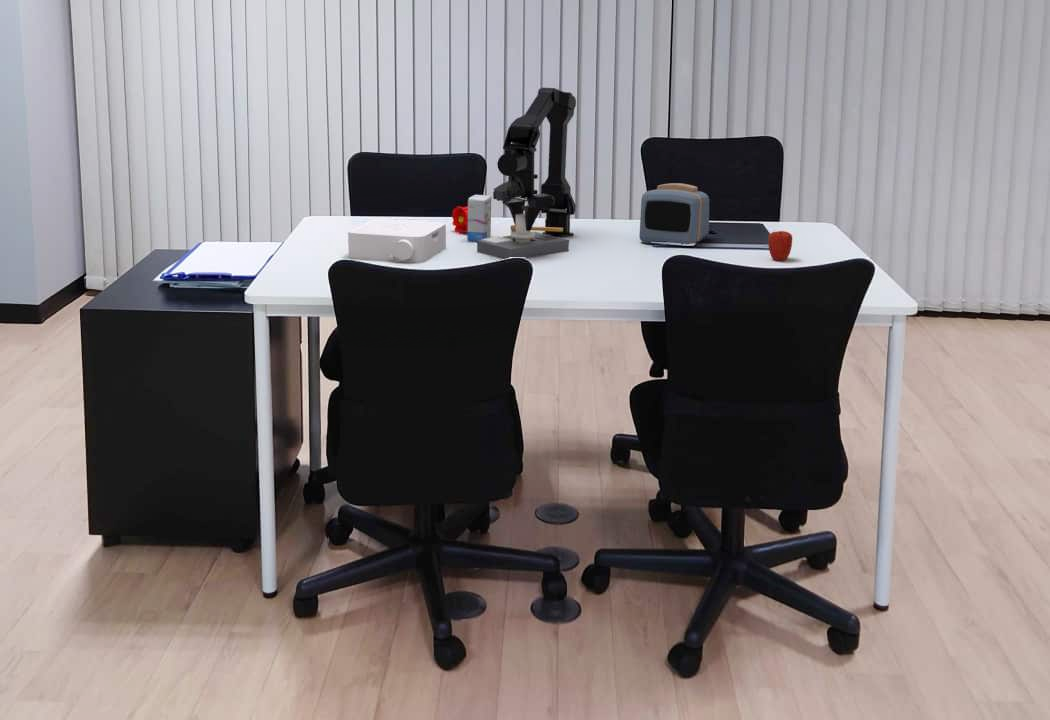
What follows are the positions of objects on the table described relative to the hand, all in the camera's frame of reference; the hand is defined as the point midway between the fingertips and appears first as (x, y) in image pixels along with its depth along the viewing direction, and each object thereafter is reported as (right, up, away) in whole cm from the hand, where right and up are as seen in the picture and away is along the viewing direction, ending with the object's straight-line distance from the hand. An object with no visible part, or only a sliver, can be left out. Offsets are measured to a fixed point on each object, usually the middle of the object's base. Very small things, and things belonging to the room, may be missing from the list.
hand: (523, 229), depth 361 cm
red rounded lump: (+67, -9, -6) cm, 67 cm away
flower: (-15, +2, +27) cm, 31 cm away
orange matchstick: (+4, 0, +7) cm, 7 cm away
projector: (-33, -7, -1) cm, 34 cm away
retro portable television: (+42, -2, +17) cm, 45 cm away
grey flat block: (0, -6, +2) cm, 6 cm away
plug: (0, -5, +1) cm, 5 cm away
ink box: (-12, -1, +17) cm, 21 cm away
